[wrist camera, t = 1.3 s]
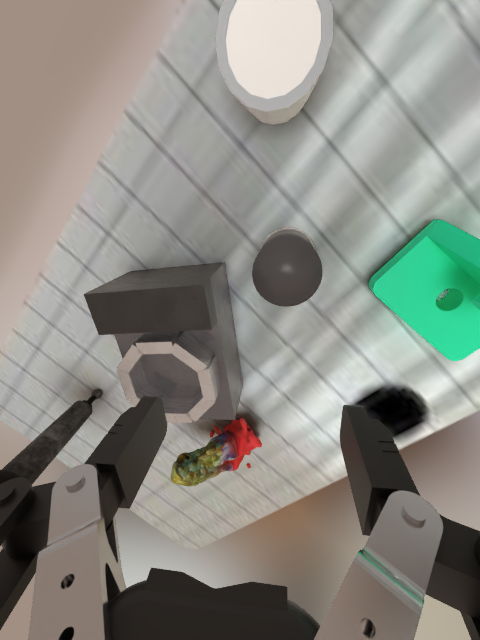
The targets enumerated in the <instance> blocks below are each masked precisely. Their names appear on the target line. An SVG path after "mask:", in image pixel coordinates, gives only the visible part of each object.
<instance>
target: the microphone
mask: <svg viewBox="0 0 480 640" xmlns="http://www.w3.org/2000/svg"><path fill="white" fill-rule="evenodd" d="M101 395H102V392H101V391H100V390H95V391H93V392H92V396H91V397H90V398H89V399H88V400H87V401H86V400H83V401H77V402H75V403H74V404H73V405H72V406H71V407H70V408H69V409H68V410H66V411H65V412H64V413H63V414H62V415H61V416H60V417H59V418H58V419H57V420H56V421H54V422H53V423H52V424H51V425H50V426H49V427H48V428H47V429H46V430H45V431H43V432H42V433H41V434H40V435H39V436H38V437H37V438H36V439H35V440H34V441H32V442H31V443H30V444H29V445H28V446H27V447H26V448H25V449H24V450H23V451H21V452H20V454H18V455H17V456H16V457H15V458H14V459H13V460H12V461H11V462H9V463H8V464H7V465H6V466H5V467H4V468H3V469H2V470H0V484H2V483H4V482H6V481H8V480H11V479H14V478H18V477H24V478H27V479H28V480H29V481H30V483H31V485H32V484H33V483H34V482H35V480H36V479H37V478H38V477H39V475H40V474H41V473H42V472H43V471H44V470H45V468H46V467H47V466H48V465H49V464H50V463H51V461H52V460H53V459H54V458H55V457H56V455H57V454H58V453H59V452H60V451H61V449H62V448H63V447H64V446H65V445H66V444H67V442H68V441H69V440H70V439H71V438H72V436H73V435H74V434H75V433H76V432H77V430H78V429H79V428H80V427H81V426H82V425H83V423H84V422H85V421H86V420H87V419H88V417H89V416H90V415H91V414H92V405H91V404H92V403H93V401H94V400H95V399H99V398H100V397H101Z"/></svg>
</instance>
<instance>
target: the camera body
mask: <svg viewBox="0 0 480 640" xmlns="http://www.w3.org/2000/svg"><path fill="white" fill-rule="evenodd" d="M84 296H85V299H86V302H87V304H88V307H89V310H90V312H91V315H92V318H93V320H94V323H95V326H96V328H97V331H98V334H99V335H106V334H114V335H115V337H116V340H117V343H118V346H119V349H120V352H121V355H122V358H123V359H122V361H121V362H120V364H119V365H118V367H117V368H118V370H117V374H118V377H119V379H120V382H121V385H122V388H123V390H124V393H125V396H126V398H127V400H130V403H131V404H133V405H134V406H136V405H137V404H138V402H139V401H140V400H141V398H142V397H144V396H153V397H161V399H162V402H163V406H164V411H165V416H166V420H167V422H172V423H193V421H194V422H196V421H197V420H198V419H220V420H235V417H236V413H237V409H238V405H239V400H240V396H241V392H242V388H243V382H242V375H241V369H240V362H239V355H238V349H237V342H236V335H235V329H234V322H233V315H232V308H231V302H230V295H229V288H228V282H227V275H226V268H225V262H223V263H213V264H202V265H192V266H181V267H171V268H160V269H150V270H140V271H131V272H129V273H127V274H125V275H122V276H120V277H118V278H116V279H114V280H112V281H110V282H108V283H106V284H104V285H102V286H100V287H98V288H95V289H93V290H91V291H89V292H87V293H85V294H84Z"/></svg>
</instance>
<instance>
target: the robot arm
mask: <svg viewBox="0 0 480 640" xmlns="http://www.w3.org/2000/svg"><path fill="white" fill-rule="evenodd" d="M166 431H167V420H166V416H165V411H164V406H163V402H162V399H161V397H153V396H144V397H142V398H141V400H140V401H139V402H138V404H137V405H136V407H131V408H129V409H128V410H127V411H126V412H124V413H123V414H122V415H121V416H120V417H119V418H118V420H117V421H116V422H115V424H114V426H112V428H111V429H110V430H109V432H108V434H106V436H105V437H104V438H103V440H102V441H101V442H100V444H99V445H98V446H97V448H96V449H95V450H94V452H93V453H92V454H91V456H90V457H89V458H88V460H87V461H86V462H85V464H83V465H79V466H76V467H74V468H72V469H70V470H68V471H67V472H65V473H64V474H63V475H62V476H61V477H60V478H59V479H58V480H57V481H56V482H52V483H48V484H43V485H39V486H34V487H32V485H31V483H30V481H29V480H28V479H27V478H24V477H18V478H14V479H11V480H8V481H6V482H4V483H2V484H0V546H1V545H2V547H3V549H2V550H1V552H0V630H1V628H2V626H3V625H4V623H5V622H6V620H7V618H8V616H9V615H10V613H11V612H12V610H13V609H14V607H15V605H16V604H17V602H18V600H19V599H20V597H21V595H22V594H23V592H24V590H25V589H26V587H27V586H28V584H29V582H30V581H31V579H32V577H33V576H34V574H35V573H36V576H35V585H34V594H33V602H32V611H31V620H30V630H29V639H28V640H414V637H415V633H416V629H417V626H418V622H419V619H420V615H421V612H422V608H423V604H424V596H425V594H426V595H429V596H431V597H433V598H434V599H437V600H439V601H441V602H443V603H445V604H447V605H449V606H451V607H453V608H455V609H457V610H459V611H460V612H461V614H462V617H463V619H464V622H465V624H466V627H467V629H468V632H469V635H470V637H471V640H480V531H478V530H475V529H472V528H470V527H467V526H464V525H462V524H459V523H457V522H454V521H451V520H449V519H447V518H445V517H443V516H441V515H440V514H439V513H438V512H437V510H436V509H435V508H434V507H433V506H432V505H431V504H430V503H429V502H428V501H427V500H426V499H424V498H423V497H421V496H420V494H419V492H418V490H417V489H416V486H415V484H414V482H413V480H412V478H411V476H410V474H409V472H408V470H407V467H406V465H405V463H404V461H403V459H402V457H401V455H400V454H399V451H398V449H397V446H396V444H394V440H393V438H392V436H391V434H390V432H389V430H388V429H387V428H386V427H385V426H384V425H383V424H382V423H381V422H380V421H379V420H374V419H369V417H368V415H367V413H366V410H365V408H364V406H355V405H344V406H343V411H342V420H341V429H340V443H341V449H342V453H343V457H344V461H345V465H346V469H347V473H348V477H349V481H350V485H351V489H352V494H353V498H354V502H355V505H356V509H357V513H358V517H359V522H360V526H361V530H362V534H363V535H368V536H369V538H368V540H367V542H366V544H365V546H364V548H363V550H362V551H361V550H360V551H359V552H358V553H357V555H356V557H355V558H354V560H353V562H352V564H351V566H350V568H349V570H348V572H347V574H346V576H345V578H344V580H343V583H342V584H341V586H340V589H339V590H338V592H337V594H336V596H335V599H334V600H333V602H332V605H331V606H330V608H329V610H328V612H327V614H326V616H325V618H324V620H323V622H322V624H321V626H320V625H319V624H318V623H317V622H316V620H315V619H314V618H313V617H312V616H311V615H310V614H309V613H307V612H306V611H305V610H304V609H303V608H301V607H300V606H298V605H297V604H295V603H294V602H292V601H290V600H288V599H287V587H285V586H278V585H271V584H264V583H256V582H249V583H244V584H238V585H233V586H228V587H223V588H218V589H214V588H211V587H209V586H208V585H206V584H204V583H202V582H200V581H198V580H196V579H194V578H193V577H191V576H189V575H187V574H185V573H183V572H178V571H171V570H163V569H157V568H151V570H150V572H149V576H148V578H147V580H146V581H142V582H139V583H137V584H134V585H132V586H130V587H128V588H126V585H125V581H124V578H123V573H122V568H121V560H120V553H119V545H118V537H117V530H116V522H115V518H114V515H115V514H116V512H117V510H118V508H128V509H130V507H131V505H132V503H133V501H134V499H135V497H136V495H137V492H138V490H139V488H140V486H141V484H142V482H143V480H144V478H145V476H146V474H147V472H148V470H149V468H150V466H151V464H152V462H153V460H154V458H155V456H156V454H157V452H158V450H159V448H160V446H161V444H162V442H163V440H164V437H165V435H166Z"/></svg>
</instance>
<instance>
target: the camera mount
mask: <svg viewBox="0 0 480 640" xmlns="http://www.w3.org/2000/svg"><path fill="white" fill-rule="evenodd" d="M369 288H370V290H371V291H372V292H373V293H374V294H375V295H376V296H377V297H378V298H379V299H380V300H381V301H382V302H384V303H385V304H386V305H387V306H388V307H389V308H390V309H391V310H393V311H394V312H395V313H396V314H397V315H398V316H399V317H401V318H402V319H403V320H404V321H405V322H406V323H407V324H409V325H410V326H411V327H412V328H413V329H414V330H415V331H417V332H418V333H419V334H420V335H421V336H422V337H423V338H425V339H426V340H427V341H428V342H429V343H430V344H431V345H432V346H434V347H435V348H436V349H437V350H438V351H439V352H440V353H442V354H443V355H444V356H445V357H446V358H447V359H449V360H452V361H458V360H461V359H464V358H465V357H467V356H468V355H470V354H471V353H473V352H474V351H476V350H478V349H479V348H480V240H479V239H478V238H476V237H474V236H472V235H470V234H468V233H466V232H464V231H462V230H460V229H459V228H457V227H455V226H453V225H451V224H449V223H447V222H445V221H443V220H437V219H434V220H433V221H432V222H431V223H430V224H429V225H427V226H426V227H425V228H424V229H423V230H422V231H421V232H420V233H419V234H418V235H417V236H416V237H414V238H413V239H412V240H411V241H410V242H409V243H408V244H407V245H406V246H405V247H404V248H402V249H401V250H400V251H399V252H398V253H397V254H396V255H395V256H394V257H393V258H392V259H391V260H389V261H388V262H387V263H386V264H385V265H384V266H383V267H382V268H381V269H380V270H379V271H378V272H376V273H375V274H374V275H373V276H372V277H371V279H370V281H369ZM446 289H449V291H448V294H447V295H446V296H445V297H444V298H443V299H442V300H439V301H436V299H437V296H438V295H439V294H440V293H441V292H442V291H444V290H446Z"/></svg>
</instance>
